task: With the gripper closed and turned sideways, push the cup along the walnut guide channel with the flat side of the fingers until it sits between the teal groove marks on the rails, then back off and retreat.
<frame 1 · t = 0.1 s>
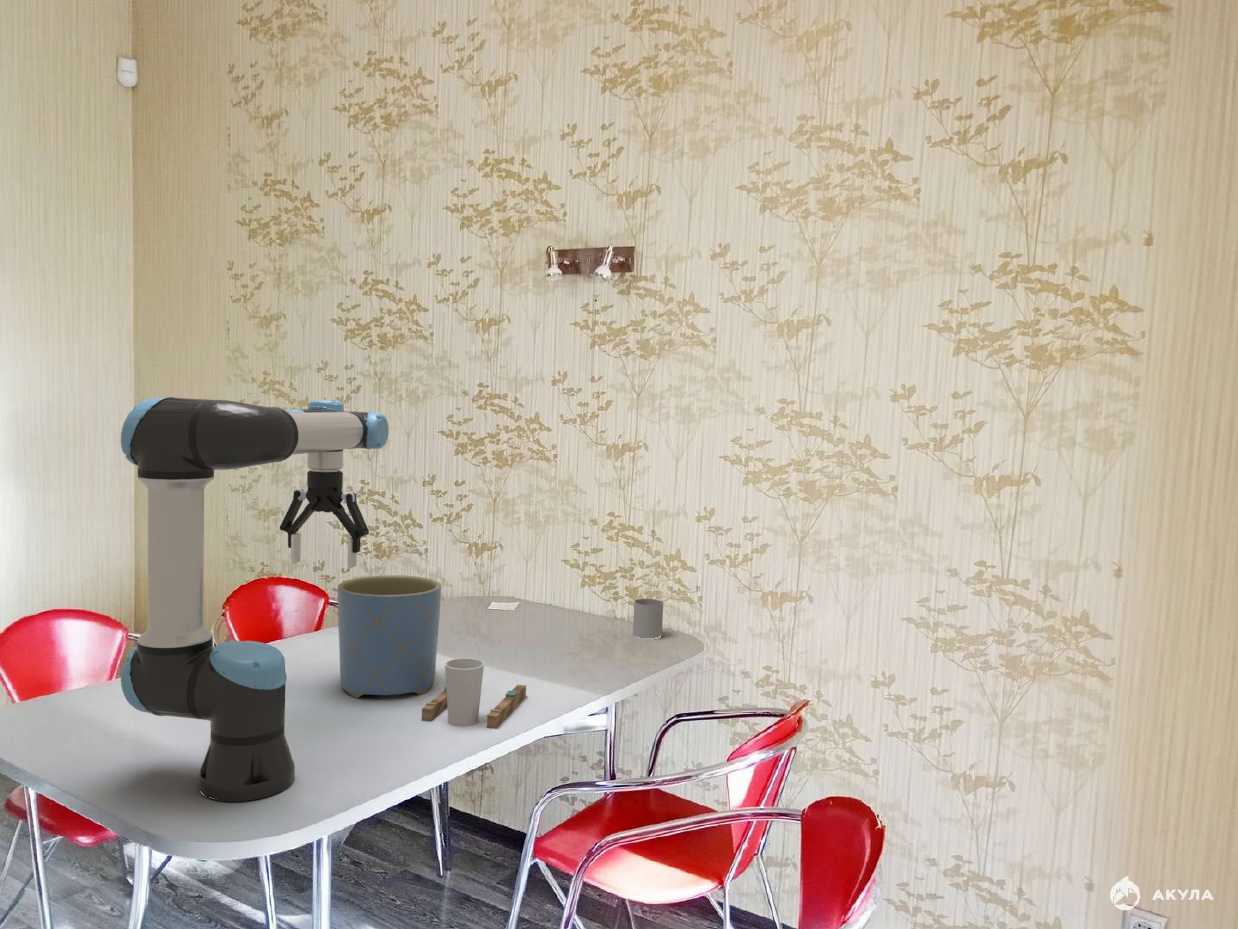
hand: (323, 565, 204), 28 cm above the table, fingers open, 13 cm apart
cup 2: (647, 637, 263), on the table
channel: (476, 707, 197), on the table
cup: (462, 721, 189), on the table
planter: (387, 687, 209), on the table
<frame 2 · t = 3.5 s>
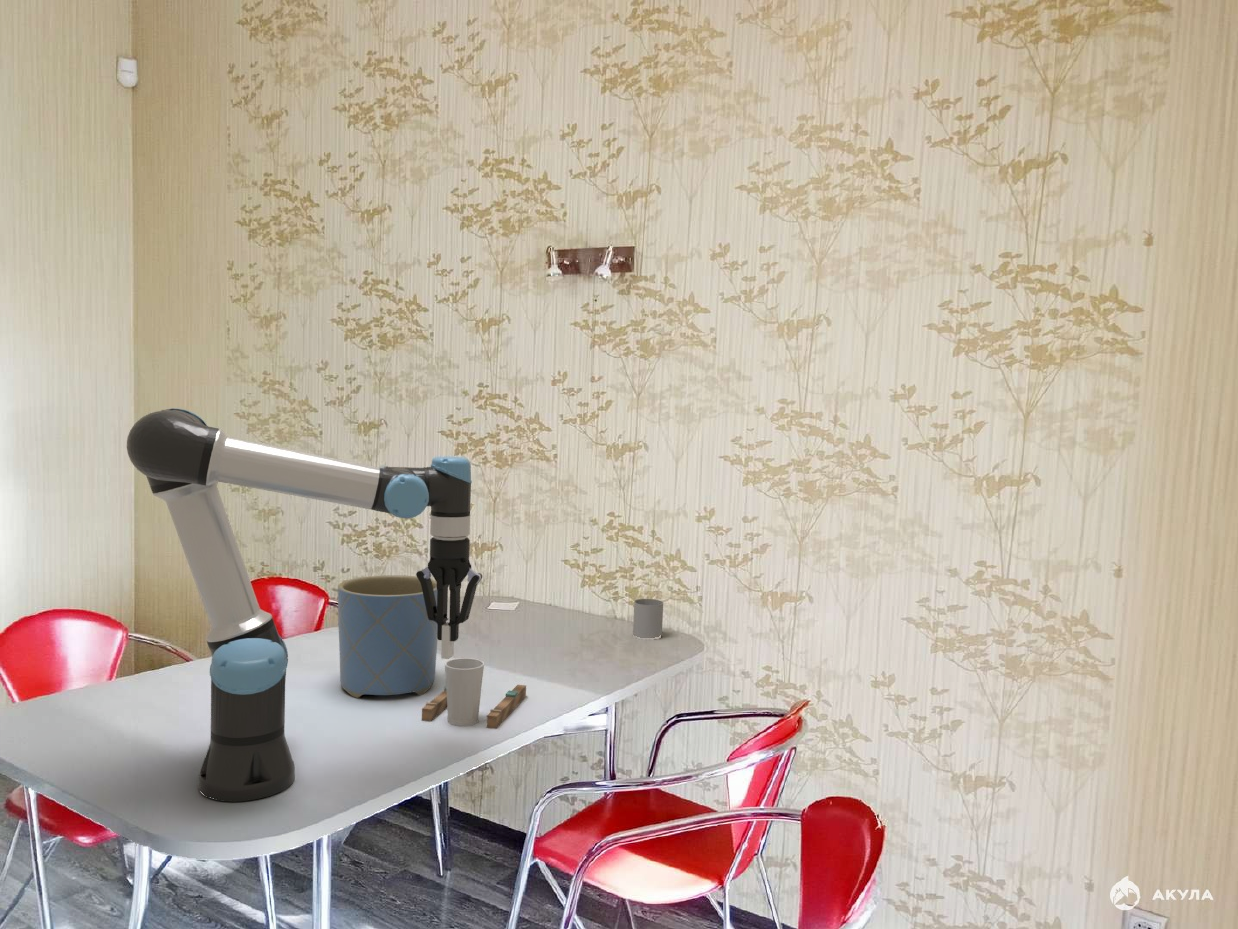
hand: (447, 656, 178), 16 cm above the table, fingers closed
nothing on the table moved.
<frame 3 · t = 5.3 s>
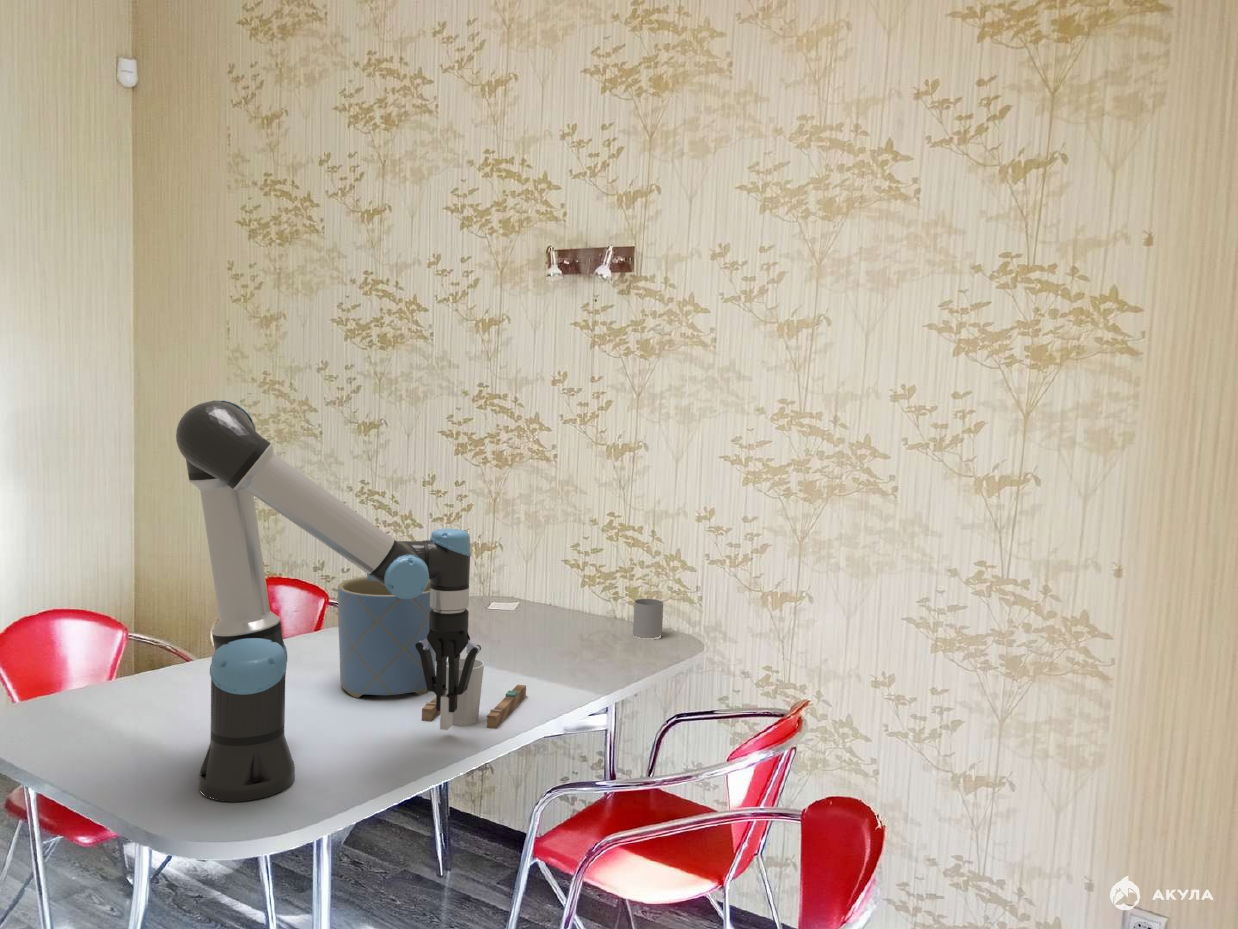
hand: (446, 727, 180), 2 cm above the table, fingers closed
nothing on the table moved.
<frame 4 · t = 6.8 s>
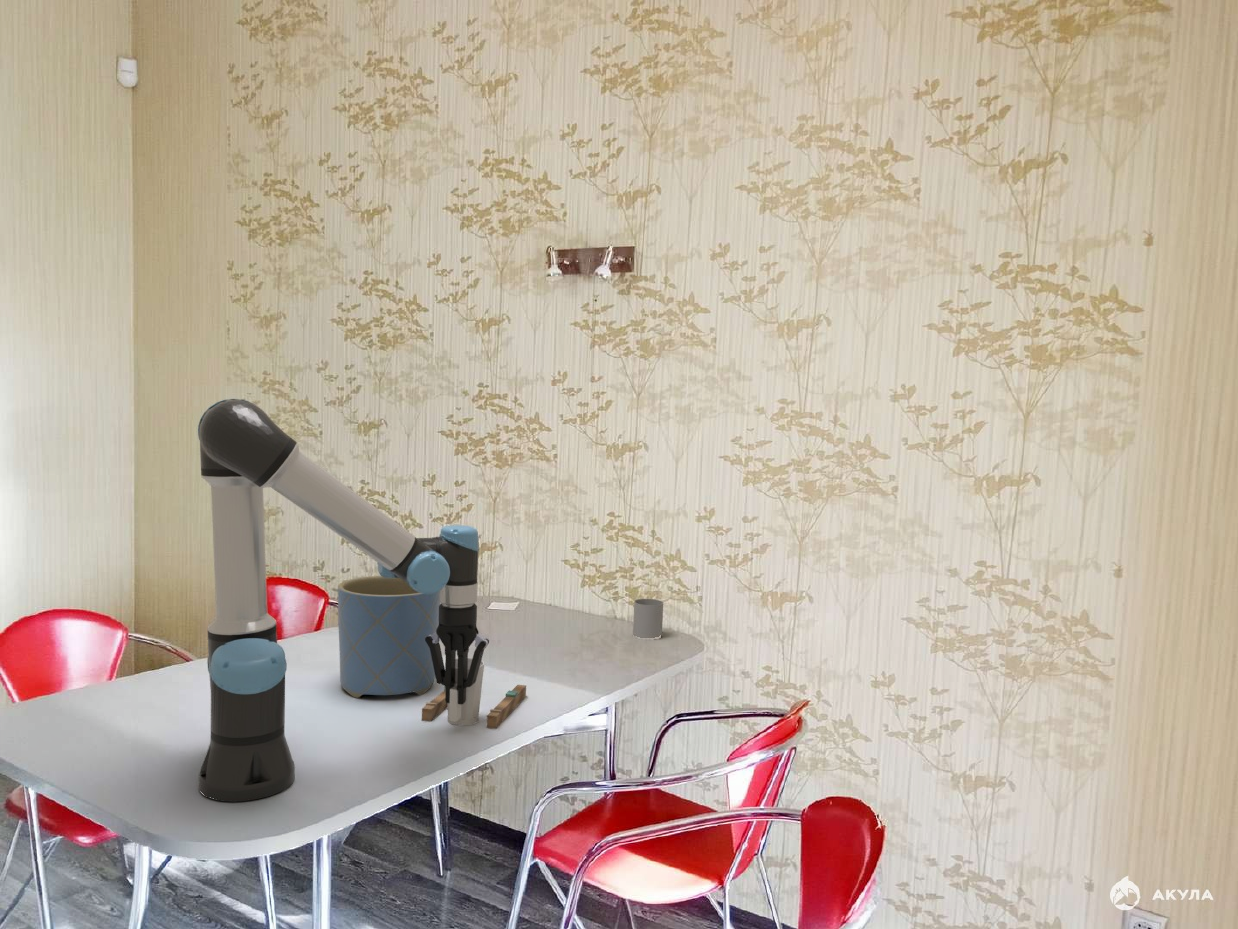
hand: (455, 719, 184), 2 cm above the table, fingers closed
cup: (463, 721, 189), on the table, touching gripper
everything else where it was.
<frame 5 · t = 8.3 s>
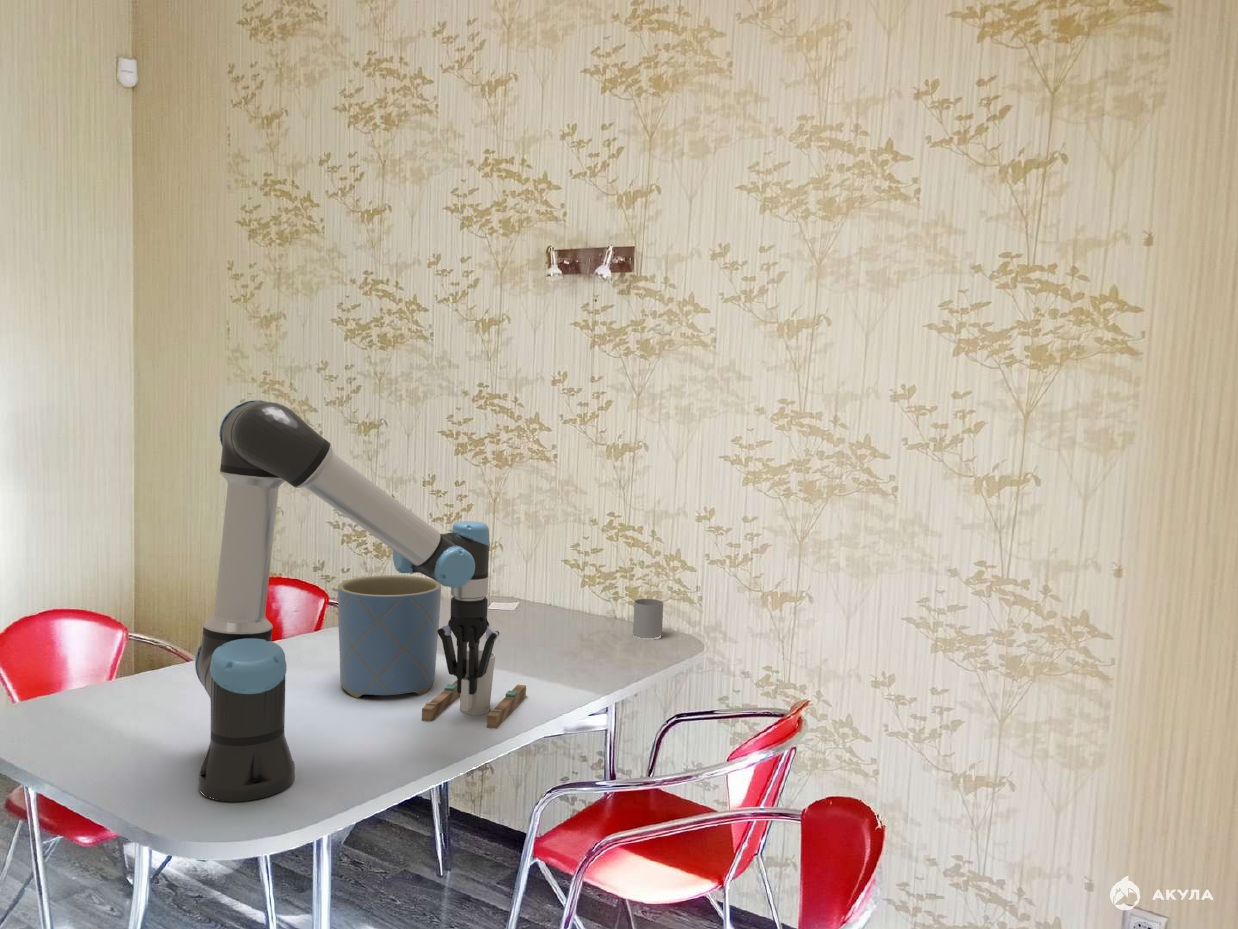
hand: (466, 708, 191), 2 cm above the table, fingers closed
cup: (474, 710, 196), on the table, touching gripper
everything else where it was.
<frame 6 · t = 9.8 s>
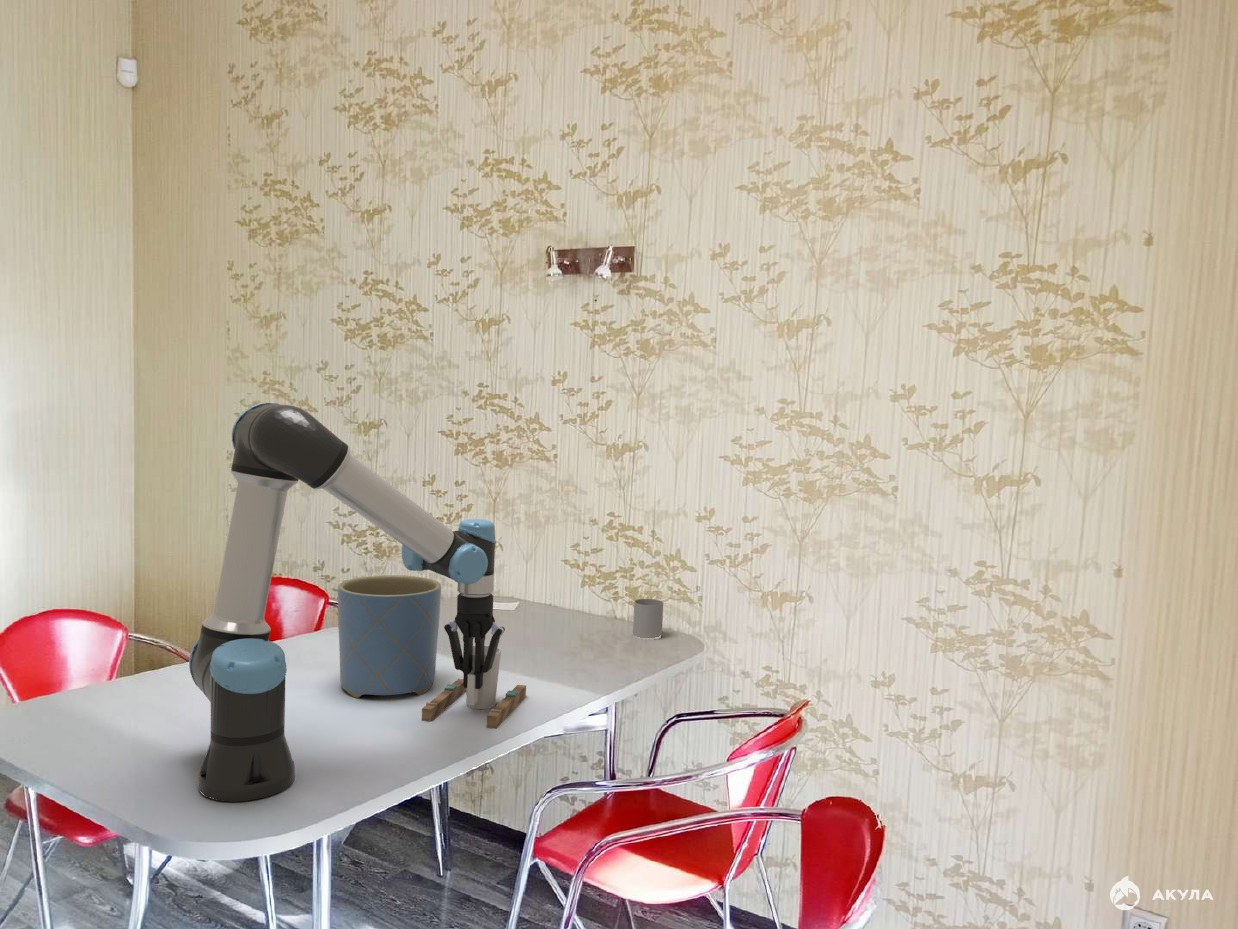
hand: (472, 703, 194), 2 cm above the table, fingers closed
cup: (480, 705, 200), on the table, touching gripper
everything else where it was.
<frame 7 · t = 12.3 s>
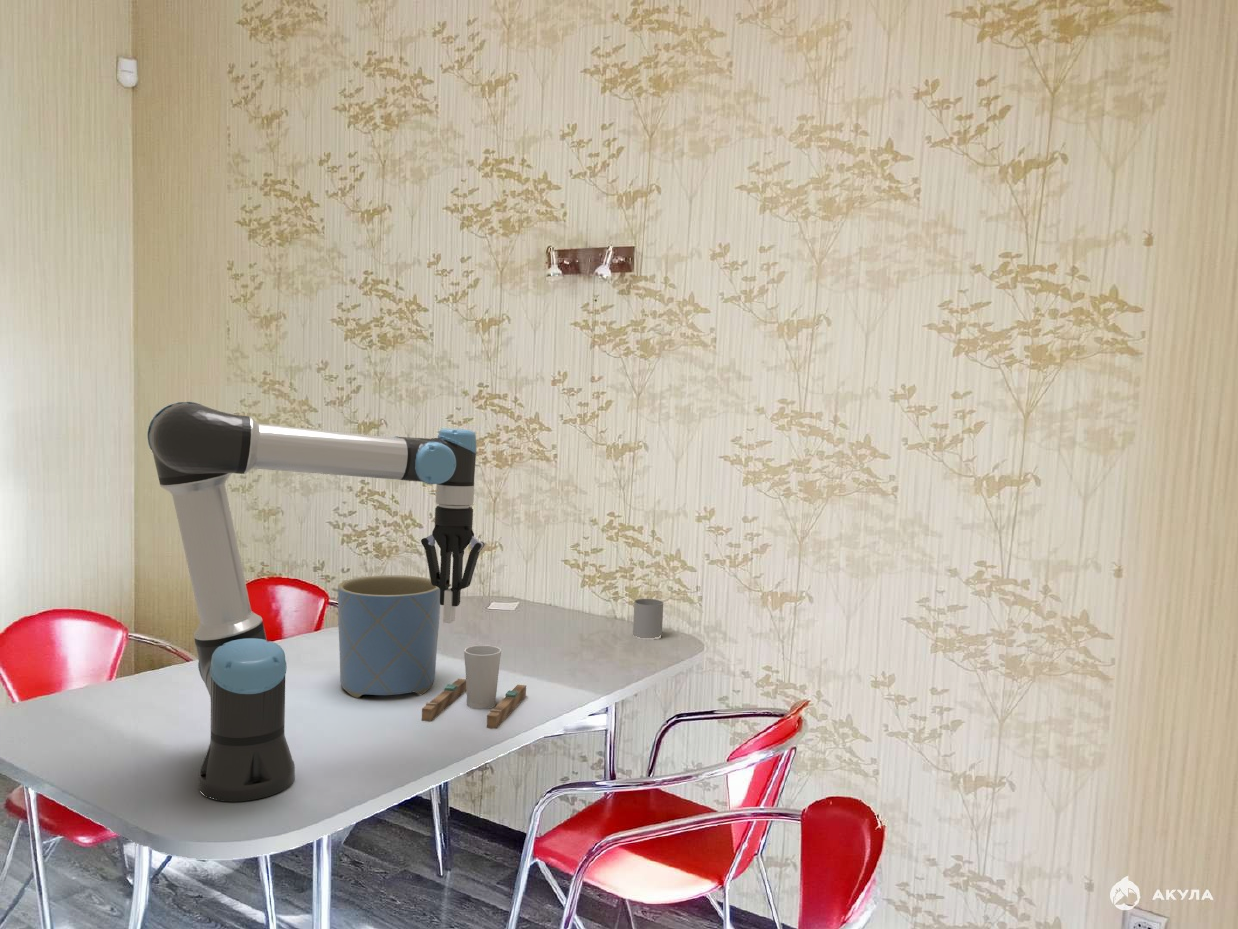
hand: (449, 621, 186), 21 cm above the table, fingers closed
cup: (481, 705, 200), on the table
everything else where it was.
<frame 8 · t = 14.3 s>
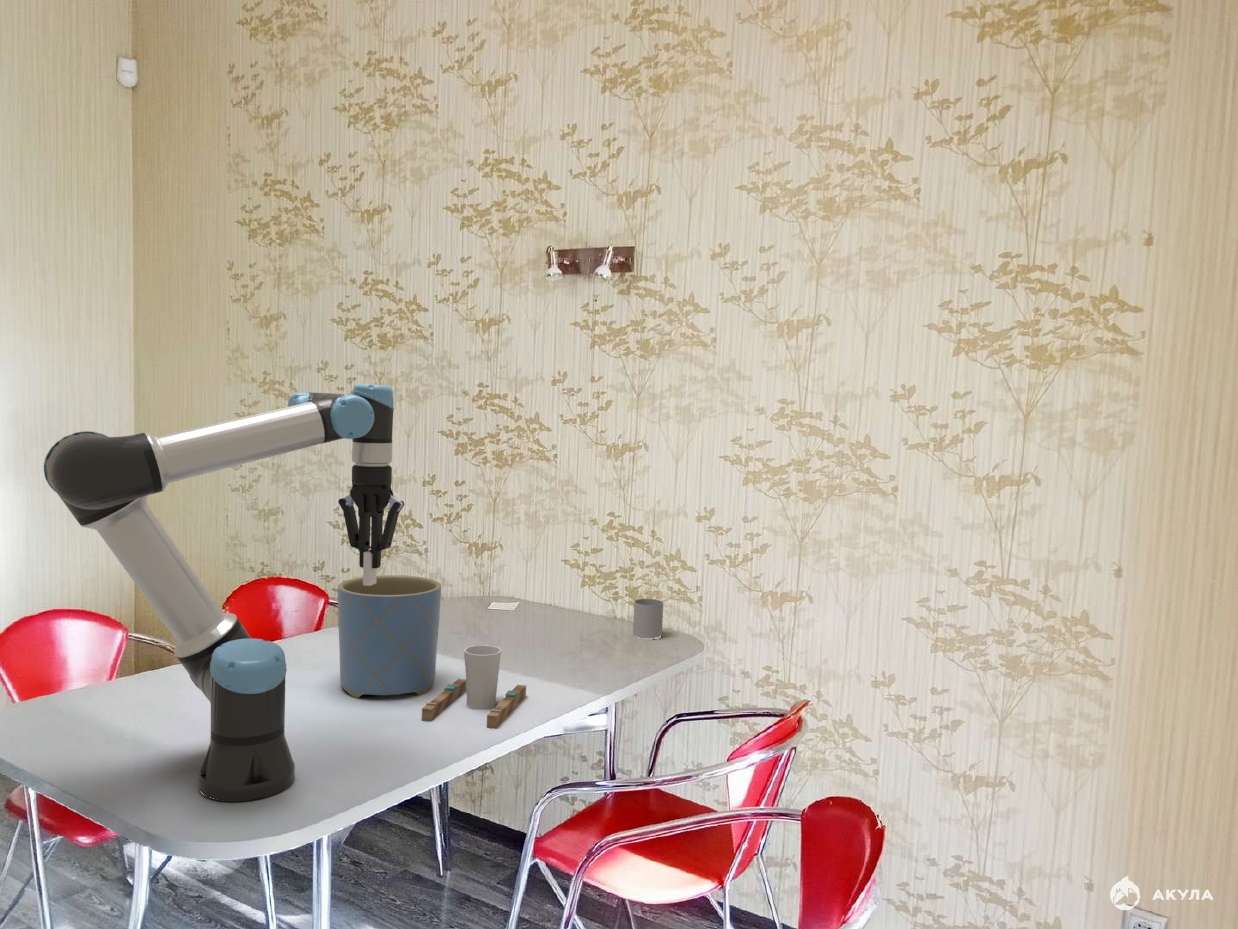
hand: (369, 584, 179), 29 cm above the table, fingers closed
nothing on the table moved.
at the end: cup inside the target area (0.7 cm from its centre), on the table; cup tilted 0° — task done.
